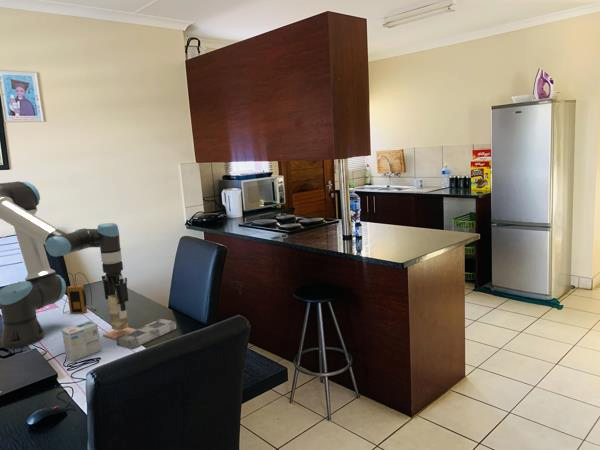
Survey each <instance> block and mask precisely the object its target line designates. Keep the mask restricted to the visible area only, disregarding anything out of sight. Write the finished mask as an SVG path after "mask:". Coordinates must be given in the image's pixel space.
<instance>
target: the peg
mask: <svg viewBox="0 0 600 450" xmlns="http://www.w3.org/2000/svg"><path fill="white" fill-rule="evenodd" d="M108 300H109V301H108ZM107 301H108V307H109V315H110V322H111V323H110V324H111V330H118V331H120V330H122V329H125V328H127V327H129V321H128V313H127V310H126V318H123V319H119V311H118V304H117V303H119V301H118V297H117V293H116V292H115V294H113V295H110V296H108V299H107ZM125 307H126V308H127V302H125Z"/></svg>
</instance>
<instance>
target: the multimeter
mask: <svg viewBox="0 0 600 450" xmlns="http://www.w3.org/2000/svg"><path fill="white" fill-rule="evenodd" d="M68 274H70V275H71V277H74V276H76V275H77V274H78V272H77V273H75V274H74V276H73V273H71V272H67V273H66V274H65V276H64V279H66V277H67V275H68ZM80 274H81V275H83V277H84V278H85V279H86V282H87V283H88V286H89V290H90V291H92V288H91V285H90V282H89V280H88V278H87V277H86V275H85V274H83V273H82V272H80ZM76 278H77V277H74V278H72V282H73V283H72V285H70V286H66V293H67V296H66V299H65V303H64V306H63V311H62V313H63V314H65V313H68V312H70V314H85V313H86V312H88V309H89V308H91V309H92V310H91V311H92V312H95V311H97V309H96V308H95V307H93V305H91V306H90V305H89V306H88V305H87V297H86V296H87V295H86V290H85V286H84V285H78V284H77V280H76ZM90 299H91V300H90V301H91V303H93V295H92V292H90ZM67 302H68V306H69V310H67V311H65V307H66V303H67Z"/></svg>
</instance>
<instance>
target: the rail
mask: <svg viewBox="0 0 600 450" xmlns="http://www.w3.org/2000/svg"><path fill="white" fill-rule="evenodd" d="M134 329H135V330H133V331H130V332H128V333H125V334H123V335H121V336H118V337H116V340H115V341H116V345H117V346H120V347H123V348H127V349H131V350H132V349H135V348H137V347H140V346H142V345H143V344H146V343H149V342H150V341H153V340H155V339H157V338H160V337H161V336H163V335H165V334H168V333H171V332H173V331H175V330H176V329H177V322H176V321H173V320H169V319H164V318H159V319H157V320H155V321H152V322H150V323H147V324H145V325H143V326H141V327H137V328H134Z"/></svg>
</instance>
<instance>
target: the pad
mask: <svg viewBox="0 0 600 450" xmlns="http://www.w3.org/2000/svg"><path fill="white" fill-rule="evenodd" d="M135 329H136V328H132V327H129V326H128V327H127V328H125V329H122V330H120V331H118V330H114V329H112V330H110V331H107V332H105V333H103V334H102V337H105V338H109V339H112V340H115V341H116V337H118V336H121V335H123V334H125V333H128V332H130V331H133V330H135Z"/></svg>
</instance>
